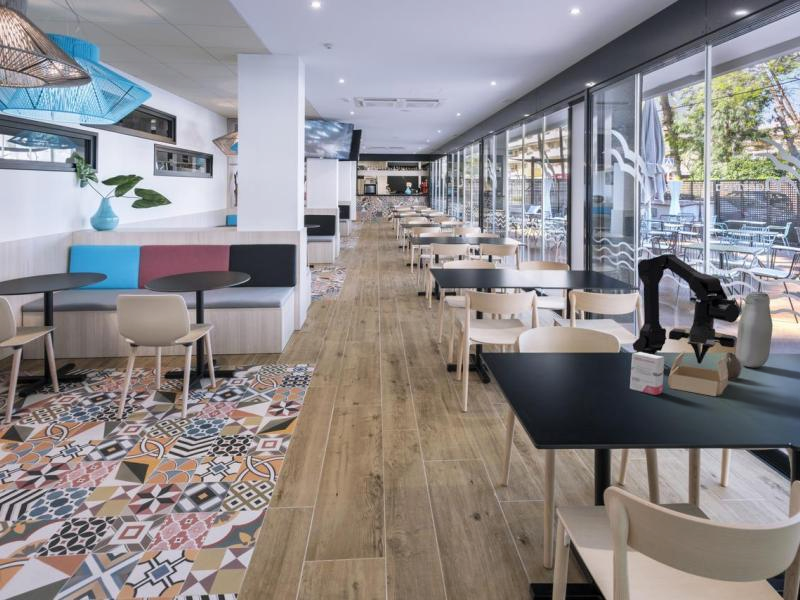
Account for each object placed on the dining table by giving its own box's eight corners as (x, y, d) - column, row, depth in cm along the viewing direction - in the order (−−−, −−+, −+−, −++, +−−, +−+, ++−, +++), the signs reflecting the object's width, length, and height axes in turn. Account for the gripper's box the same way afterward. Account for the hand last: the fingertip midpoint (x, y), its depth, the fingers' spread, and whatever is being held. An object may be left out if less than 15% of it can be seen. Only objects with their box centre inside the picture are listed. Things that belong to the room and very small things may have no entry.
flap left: (679, 364, 188) (685, 351, 186) (671, 372, 178) (677, 358, 177) (678, 364, 188) (683, 351, 186) (669, 372, 179) (675, 358, 177)
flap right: (720, 380, 170) (716, 365, 170) (726, 372, 179) (723, 357, 179) (721, 380, 170) (718, 364, 170) (728, 371, 179) (724, 356, 179)
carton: (666, 387, 178) (667, 374, 177) (678, 375, 191) (679, 363, 190) (719, 397, 168) (720, 383, 168) (728, 384, 182) (729, 371, 181)
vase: (743, 381, 184) (746, 356, 183) (721, 380, 186) (723, 355, 184) (735, 375, 191) (738, 351, 189) (713, 374, 192) (716, 350, 191)
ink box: (663, 392, 173) (666, 356, 171) (655, 395, 170) (658, 358, 168) (636, 385, 180) (639, 350, 178) (629, 388, 177) (631, 353, 175)
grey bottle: (748, 362, 208) (755, 289, 204) (773, 369, 199) (782, 293, 194) (728, 364, 205) (735, 290, 201) (753, 371, 196) (761, 294, 191)
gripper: (666, 316, 175) (662, 363, 178) (733, 324, 164) (728, 374, 167) (674, 311, 184) (670, 356, 187) (739, 318, 173) (734, 366, 175)
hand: (699, 363), depth 178 cm, fingers closed
